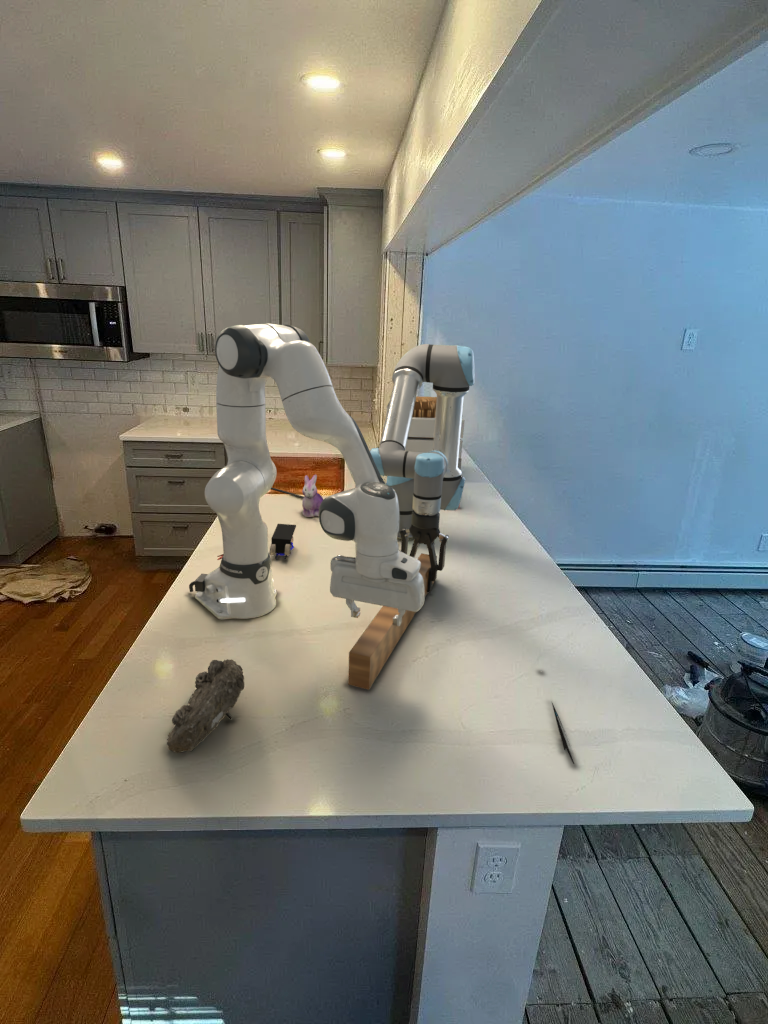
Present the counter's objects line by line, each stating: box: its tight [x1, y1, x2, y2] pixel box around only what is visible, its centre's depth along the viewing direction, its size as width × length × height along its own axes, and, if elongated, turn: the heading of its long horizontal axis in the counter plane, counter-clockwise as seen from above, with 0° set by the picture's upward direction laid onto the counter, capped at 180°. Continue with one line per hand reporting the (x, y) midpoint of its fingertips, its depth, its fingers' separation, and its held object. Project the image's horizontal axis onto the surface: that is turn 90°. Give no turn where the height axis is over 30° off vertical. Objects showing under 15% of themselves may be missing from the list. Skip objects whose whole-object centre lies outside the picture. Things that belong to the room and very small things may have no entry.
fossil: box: [166, 658, 245, 754], centre depth 106 cm, size 22×10×15 cm
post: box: [347, 552, 438, 691], centre depth 142 cm, size 55×5×8 cm, turn 161°
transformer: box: [385, 396, 465, 471], centre depth 268 cm, size 34×33×41 cm
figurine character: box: [269, 523, 297, 560], centre depth 179 cm, size 7×8×15 cm
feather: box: [540, 670, 575, 765], centre depth 113 cm, size 2×28×2 cm
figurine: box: [301, 474, 324, 518], centre depth 213 cm, size 9×10×15 cm
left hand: (376, 620), depth 121 cm, fingers open, 8 cm apart
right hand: (420, 588), depth 160 cm, fingers closed on post, 5 cm apart
